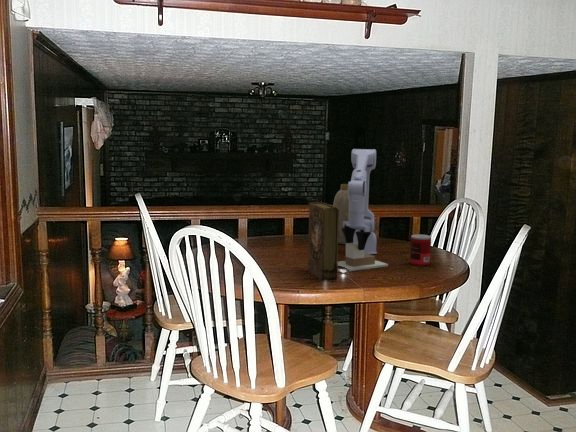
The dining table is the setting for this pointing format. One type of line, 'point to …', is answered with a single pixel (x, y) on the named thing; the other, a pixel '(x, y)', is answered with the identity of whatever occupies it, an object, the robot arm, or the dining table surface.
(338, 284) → the dining table surface
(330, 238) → the book
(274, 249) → the dining table surface
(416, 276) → the dining table surface
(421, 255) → the canned food
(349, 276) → the dining table surface
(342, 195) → the vase
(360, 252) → the cream cube
